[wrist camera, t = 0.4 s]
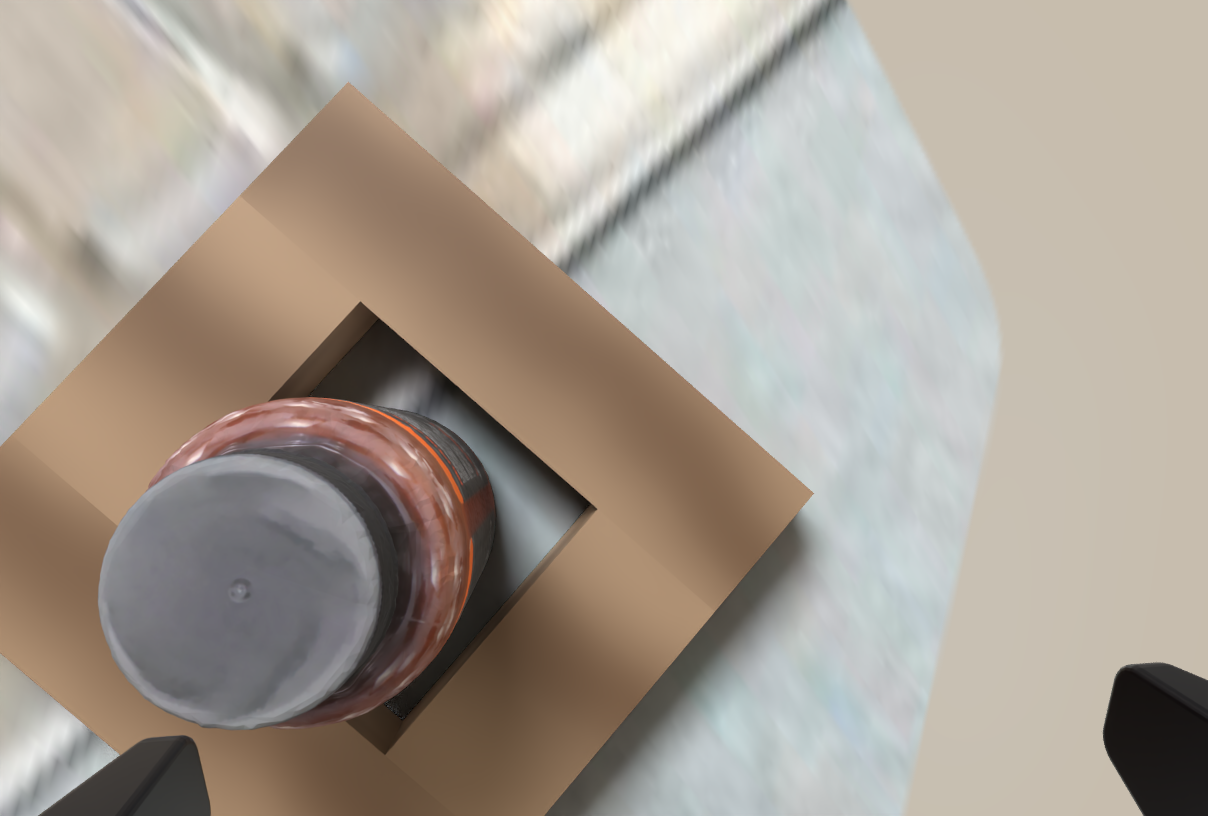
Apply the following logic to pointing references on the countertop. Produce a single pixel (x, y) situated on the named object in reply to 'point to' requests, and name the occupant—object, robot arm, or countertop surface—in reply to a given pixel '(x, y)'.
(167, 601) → the supplement bottle
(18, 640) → the square wooden frame
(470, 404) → the countertop surface
